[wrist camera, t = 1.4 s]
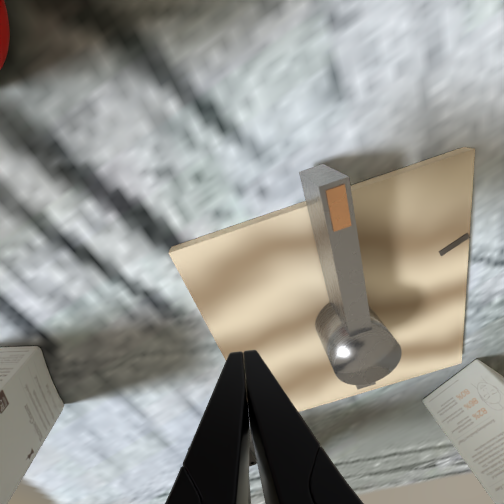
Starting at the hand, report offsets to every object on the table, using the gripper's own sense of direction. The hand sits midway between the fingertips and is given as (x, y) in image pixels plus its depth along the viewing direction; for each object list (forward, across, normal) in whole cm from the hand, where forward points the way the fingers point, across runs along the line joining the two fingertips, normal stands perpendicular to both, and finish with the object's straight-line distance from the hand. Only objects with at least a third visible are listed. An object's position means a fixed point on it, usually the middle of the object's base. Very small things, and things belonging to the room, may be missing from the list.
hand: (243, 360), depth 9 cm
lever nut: (+11, -8, +5) cm, 15 cm away
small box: (+13, -25, +23) cm, 36 cm away
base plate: (+13, -9, +10) cm, 18 cm away
